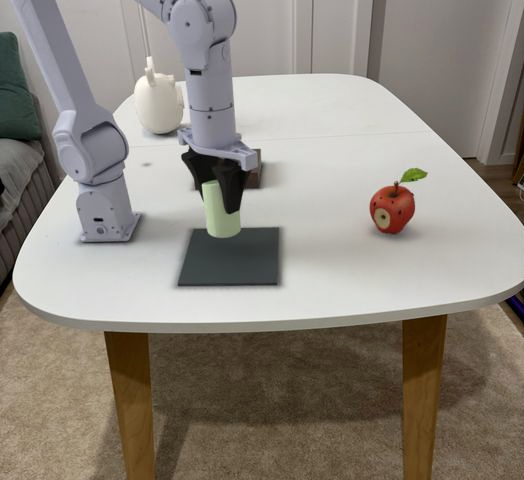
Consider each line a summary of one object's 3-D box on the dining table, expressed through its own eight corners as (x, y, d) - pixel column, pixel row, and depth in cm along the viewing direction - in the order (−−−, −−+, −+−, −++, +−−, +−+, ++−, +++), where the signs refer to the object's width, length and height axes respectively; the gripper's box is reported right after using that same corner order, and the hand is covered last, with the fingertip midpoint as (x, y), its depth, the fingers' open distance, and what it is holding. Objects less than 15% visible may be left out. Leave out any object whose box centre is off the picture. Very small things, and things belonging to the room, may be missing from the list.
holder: (258, 188, 95) (258, 172, 93) (195, 189, 96) (193, 173, 94) (261, 163, 104) (260, 148, 102) (203, 164, 105) (201, 150, 103)
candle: (203, 226, 77) (196, 173, 71) (234, 219, 78) (230, 166, 72) (212, 241, 73) (206, 186, 68) (245, 234, 74) (241, 179, 69)
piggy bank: (196, 134, 118) (187, 62, 108) (147, 144, 115) (134, 70, 105) (179, 120, 127) (170, 51, 117) (133, 128, 123) (120, 58, 113)
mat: (277, 284, 71) (277, 282, 70) (177, 285, 72) (177, 283, 71) (278, 229, 83) (278, 227, 82) (193, 230, 83) (193, 228, 83)
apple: (379, 244, 78) (387, 181, 71) (360, 224, 83) (366, 164, 76) (424, 236, 79) (436, 173, 73) (402, 217, 84) (412, 156, 78)
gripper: (274, 108, 62) (276, 212, 71) (201, 87, 70) (211, 183, 79) (229, 123, 58) (238, 230, 67) (158, 99, 66) (174, 197, 75)
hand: (221, 205), depth 73 cm, fingers closed on candle, 5 cm apart
